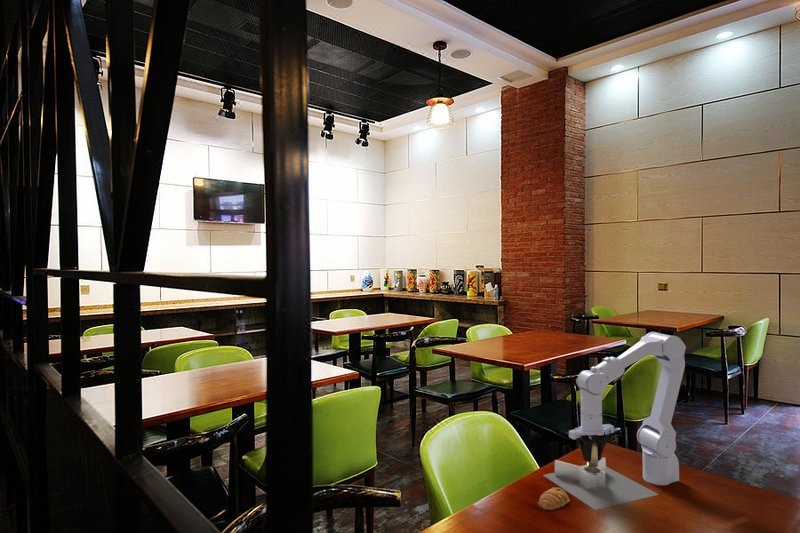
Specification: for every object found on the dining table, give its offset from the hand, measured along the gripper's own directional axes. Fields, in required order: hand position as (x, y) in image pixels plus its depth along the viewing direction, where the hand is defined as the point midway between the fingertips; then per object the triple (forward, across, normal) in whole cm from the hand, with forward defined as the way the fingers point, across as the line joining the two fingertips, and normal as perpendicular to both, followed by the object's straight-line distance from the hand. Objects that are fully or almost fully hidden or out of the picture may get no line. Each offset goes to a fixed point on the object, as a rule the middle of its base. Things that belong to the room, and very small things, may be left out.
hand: (592, 460), depth 137 cm
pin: (+1, 0, 0) cm, 1 cm away
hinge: (+7, +2, +3) cm, 8 cm away
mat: (+8, +2, 0) cm, 9 cm away
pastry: (+9, -16, -3) cm, 19 cm away
